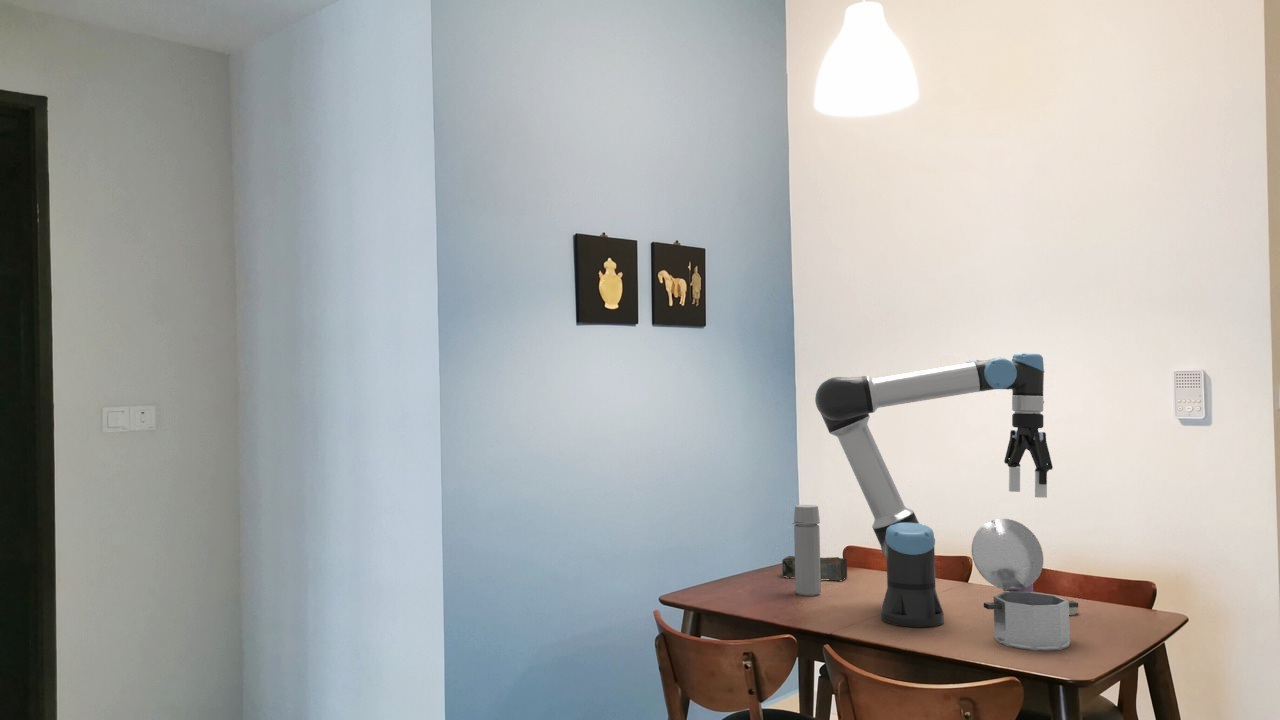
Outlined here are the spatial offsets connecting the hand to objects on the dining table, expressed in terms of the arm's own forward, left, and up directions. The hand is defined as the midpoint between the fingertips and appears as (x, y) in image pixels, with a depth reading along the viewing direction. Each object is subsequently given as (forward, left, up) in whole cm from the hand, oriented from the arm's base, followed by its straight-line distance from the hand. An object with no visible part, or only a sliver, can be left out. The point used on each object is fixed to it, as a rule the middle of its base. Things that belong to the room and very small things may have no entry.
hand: (1027, 494), depth 236 cm
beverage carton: (-44, +51, -31) cm, 74 cm away
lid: (-13, -18, -12) cm, 25 cm away
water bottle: (-52, +28, -30) cm, 67 cm away
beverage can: (+1, +7, -30) cm, 31 cm away
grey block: (+7, -1, -31) cm, 31 cm away
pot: (-13, -28, -30) cm, 43 cm away
